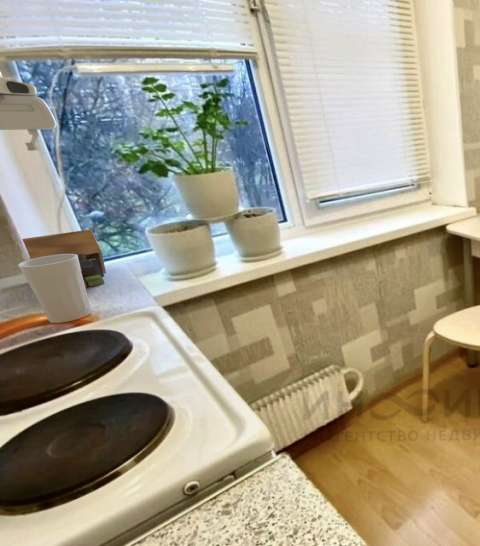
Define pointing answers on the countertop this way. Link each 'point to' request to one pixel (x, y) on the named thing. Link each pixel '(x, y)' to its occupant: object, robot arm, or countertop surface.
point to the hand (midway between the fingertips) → (2, 151)
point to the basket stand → (91, 270)
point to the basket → (67, 247)
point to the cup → (58, 286)
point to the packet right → (94, 280)
